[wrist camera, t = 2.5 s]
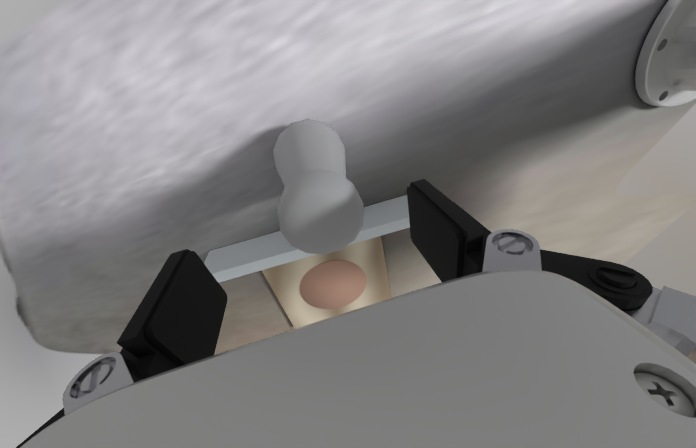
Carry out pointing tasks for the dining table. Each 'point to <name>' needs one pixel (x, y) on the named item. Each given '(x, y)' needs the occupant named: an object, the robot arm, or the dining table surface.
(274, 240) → the acrylic wall
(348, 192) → the salt shaker
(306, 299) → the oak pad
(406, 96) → the dining table surface
